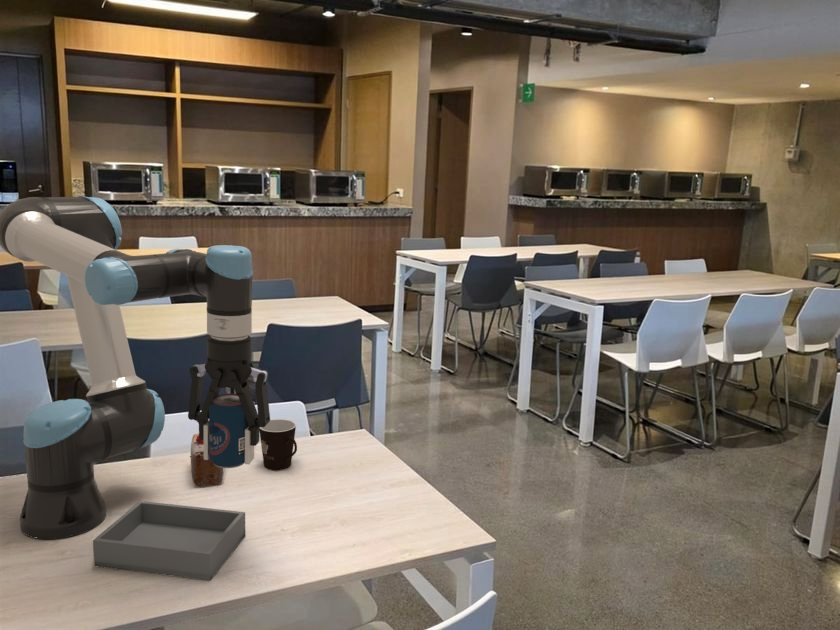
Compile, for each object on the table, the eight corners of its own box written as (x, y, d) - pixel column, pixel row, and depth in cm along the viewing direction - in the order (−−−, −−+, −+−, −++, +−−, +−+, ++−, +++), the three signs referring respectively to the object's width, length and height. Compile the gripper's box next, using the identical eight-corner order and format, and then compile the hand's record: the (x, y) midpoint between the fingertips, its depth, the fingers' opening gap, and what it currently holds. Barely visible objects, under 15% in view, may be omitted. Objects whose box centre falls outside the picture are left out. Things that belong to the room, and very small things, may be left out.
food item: (189, 464, 171) (188, 425, 169) (224, 461, 173) (223, 422, 171) (191, 489, 158) (190, 447, 156) (228, 485, 161) (228, 443, 159)
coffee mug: (257, 459, 175) (257, 420, 173) (293, 456, 177) (293, 418, 175) (262, 479, 164) (261, 438, 162) (300, 475, 167) (300, 435, 165)
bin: (94, 566, 127) (92, 540, 126) (140, 524, 142) (139, 500, 141) (210, 580, 124) (209, 553, 123) (245, 536, 139) (245, 512, 138)
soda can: (200, 462, 129) (200, 399, 126) (230, 450, 134) (230, 389, 132) (228, 473, 125) (228, 408, 122) (257, 460, 131) (257, 398, 128)
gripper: (164, 335, 122) (167, 461, 127) (277, 346, 120) (275, 473, 125) (184, 325, 129) (185, 445, 134) (291, 335, 127) (288, 456, 132)
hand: (229, 458), depth 130 cm, fingers closed on soda can, 7 cm apart
